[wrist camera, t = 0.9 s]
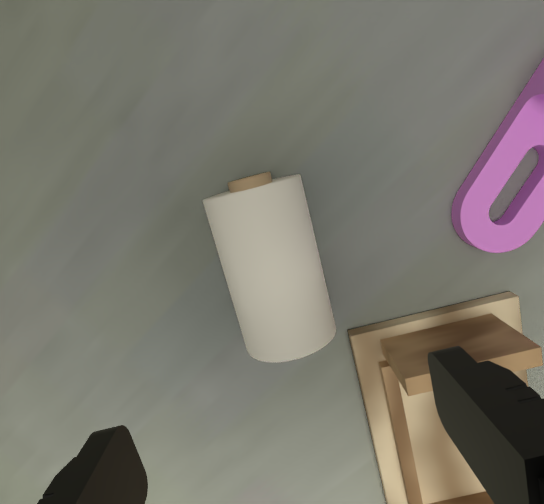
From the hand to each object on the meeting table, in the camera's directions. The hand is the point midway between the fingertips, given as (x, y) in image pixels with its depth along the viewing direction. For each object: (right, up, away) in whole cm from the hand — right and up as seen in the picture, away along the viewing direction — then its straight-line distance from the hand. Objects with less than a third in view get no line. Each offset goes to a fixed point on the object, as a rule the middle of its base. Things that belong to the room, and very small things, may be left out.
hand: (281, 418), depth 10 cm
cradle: (+13, -8, +20) cm, 26 cm away
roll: (0, +4, +17) cm, 17 cm away
